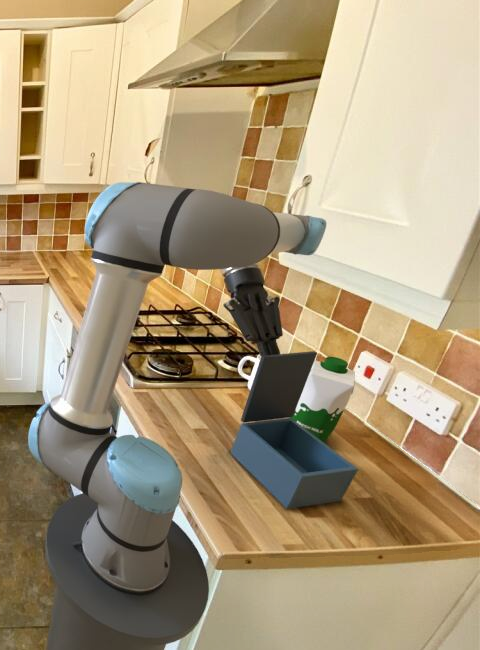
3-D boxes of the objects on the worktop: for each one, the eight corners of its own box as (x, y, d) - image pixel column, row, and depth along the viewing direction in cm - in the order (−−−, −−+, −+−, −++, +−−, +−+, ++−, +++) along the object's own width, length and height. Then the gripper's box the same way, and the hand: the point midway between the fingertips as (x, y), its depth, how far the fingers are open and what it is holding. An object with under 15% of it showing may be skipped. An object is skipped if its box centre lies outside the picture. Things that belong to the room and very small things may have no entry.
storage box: (340, 501, 84) (358, 469, 80) (286, 509, 82) (302, 476, 78) (277, 447, 98) (290, 417, 94) (230, 453, 96) (241, 423, 92)
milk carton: (328, 431, 102) (362, 363, 94) (326, 451, 96) (362, 380, 88) (286, 417, 108) (314, 350, 99) (281, 434, 101) (310, 365, 93)
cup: (275, 403, 113) (288, 372, 108) (228, 384, 121) (238, 354, 117) (285, 391, 118) (297, 361, 113) (238, 374, 126) (248, 345, 121)
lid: (317, 352, 86) (314, 351, 87) (264, 357, 85) (261, 355, 85) (292, 417, 93) (289, 415, 94) (243, 422, 91) (240, 420, 92)
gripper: (253, 278, 102) (287, 371, 94) (205, 281, 100) (236, 376, 92) (278, 264, 95) (317, 364, 87) (227, 267, 93) (263, 369, 85)
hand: (276, 370), depth 89 cm, fingers closed
